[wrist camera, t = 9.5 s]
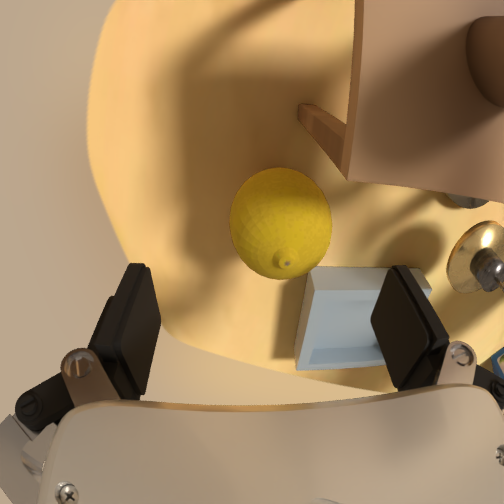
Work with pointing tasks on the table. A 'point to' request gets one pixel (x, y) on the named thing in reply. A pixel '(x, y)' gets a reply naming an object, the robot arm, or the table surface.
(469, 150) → the wooden stool
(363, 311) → the dish
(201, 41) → the table surface
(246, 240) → the lemon
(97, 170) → the table surface
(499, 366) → the milk carton
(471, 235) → the balance
